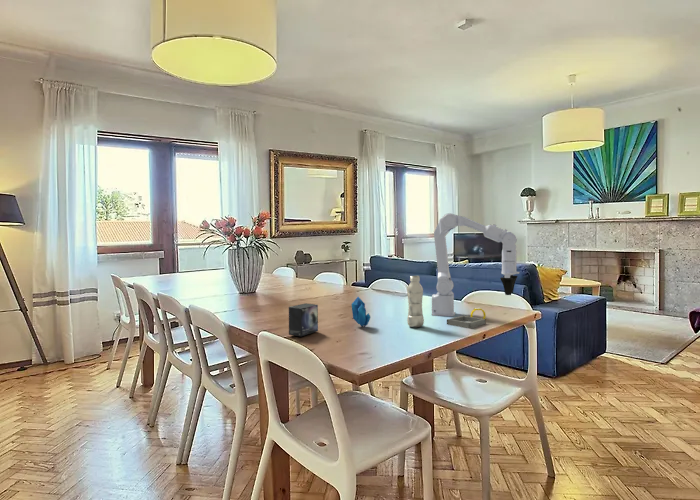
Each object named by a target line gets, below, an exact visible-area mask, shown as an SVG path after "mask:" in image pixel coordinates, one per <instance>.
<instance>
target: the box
mask: <svg viewBox="0 0 700 500" xmlns="http://www.w3.org/2000/svg"><path fill="white" fill-rule="evenodd" d="M486 320H487V319H486V318H485V319H483V317H474V316H473V317H471V316H468V315H467V316H466V315H461V316H456V317H455V316H454V317H451V318H447V319H446V325H447V326H454V327H460V328H464V329H470V330H471V329H474V328H477V327H480V326H483V325H486V324H487V321H486Z"/></svg>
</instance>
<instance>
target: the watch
mask: <svg viewBox="0 0 700 500" xmlns="http://www.w3.org/2000/svg"><path fill="white" fill-rule="evenodd" d="M476 311H481V312H482V314H483V316H482V319H486V317H487V316H486V315H487V313H486V311H484V309H483V308H482V307H479V306H478V307H474V308H473V309H472V310H471V312H470V317H474V313H475V312H476Z"/></svg>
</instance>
